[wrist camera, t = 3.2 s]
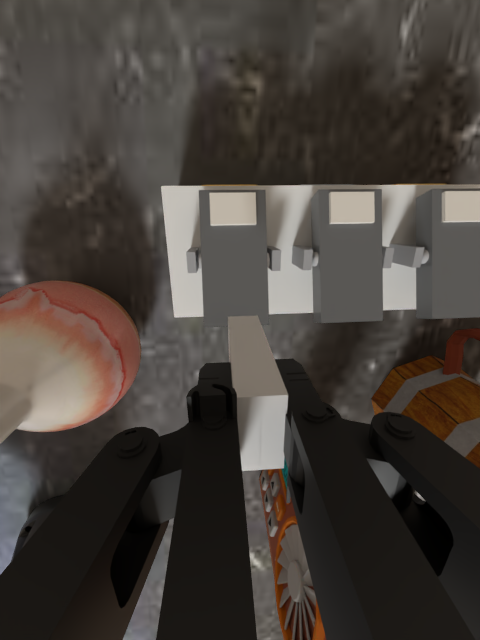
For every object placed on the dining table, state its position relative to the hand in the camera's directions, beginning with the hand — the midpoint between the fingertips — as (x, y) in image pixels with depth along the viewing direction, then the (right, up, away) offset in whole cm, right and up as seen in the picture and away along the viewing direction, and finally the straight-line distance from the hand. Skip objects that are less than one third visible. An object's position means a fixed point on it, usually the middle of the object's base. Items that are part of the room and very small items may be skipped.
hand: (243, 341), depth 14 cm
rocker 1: (-1, +5, +5) cm, 7 cm away
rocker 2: (+7, +5, +5) cm, 11 cm away
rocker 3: (+15, +6, +6) cm, 17 cm away
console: (+7, +9, +16) cm, 19 cm away
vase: (-17, 0, +17) cm, 24 cm away
